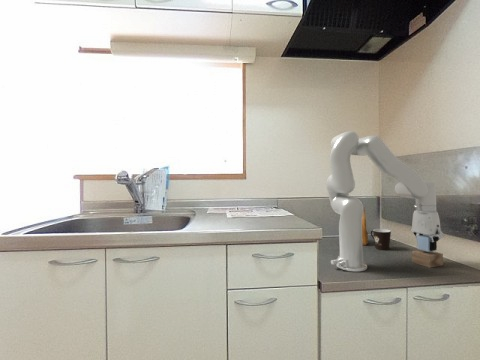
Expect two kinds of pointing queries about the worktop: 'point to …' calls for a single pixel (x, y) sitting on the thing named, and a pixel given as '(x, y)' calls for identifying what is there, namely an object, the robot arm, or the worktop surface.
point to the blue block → (423, 242)
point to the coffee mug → (381, 238)
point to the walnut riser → (427, 258)
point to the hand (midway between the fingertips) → (426, 248)
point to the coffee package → (364, 230)
